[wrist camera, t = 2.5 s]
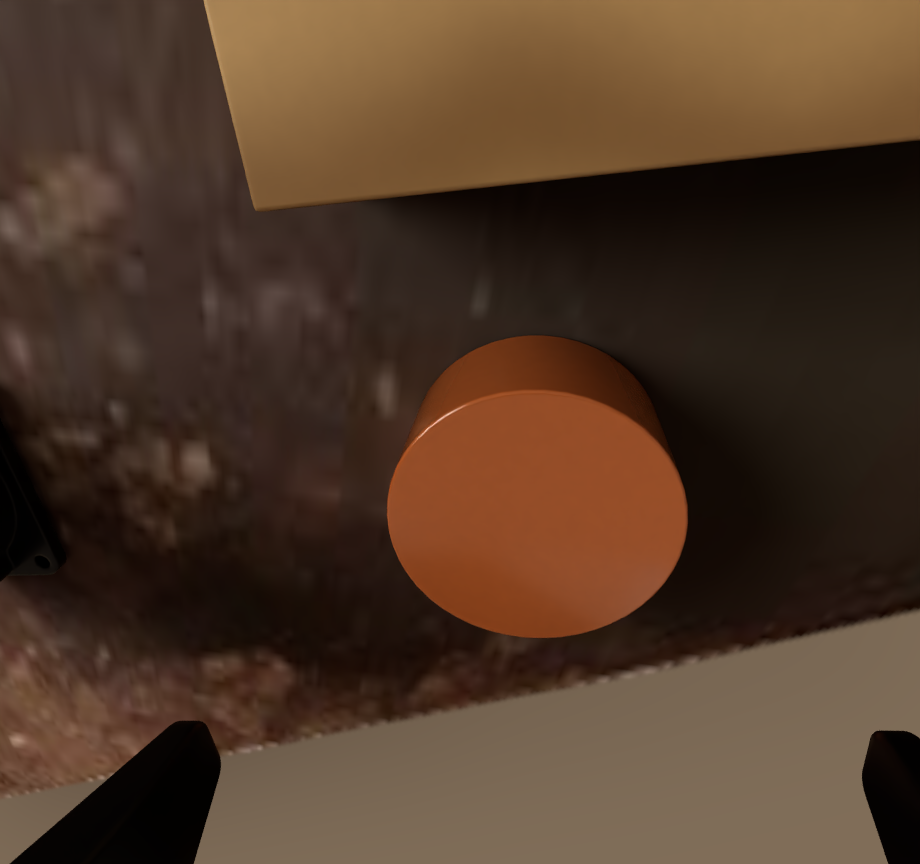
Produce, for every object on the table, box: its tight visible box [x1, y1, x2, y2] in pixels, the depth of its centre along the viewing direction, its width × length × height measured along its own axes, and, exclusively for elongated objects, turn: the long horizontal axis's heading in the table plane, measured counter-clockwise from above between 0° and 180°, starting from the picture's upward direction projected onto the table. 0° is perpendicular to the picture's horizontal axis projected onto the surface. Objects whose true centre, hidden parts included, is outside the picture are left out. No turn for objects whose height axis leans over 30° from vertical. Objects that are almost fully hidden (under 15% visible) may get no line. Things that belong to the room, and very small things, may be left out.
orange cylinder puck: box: [387, 335, 688, 638], centre depth 15 cm, size 6×6×3 cm
